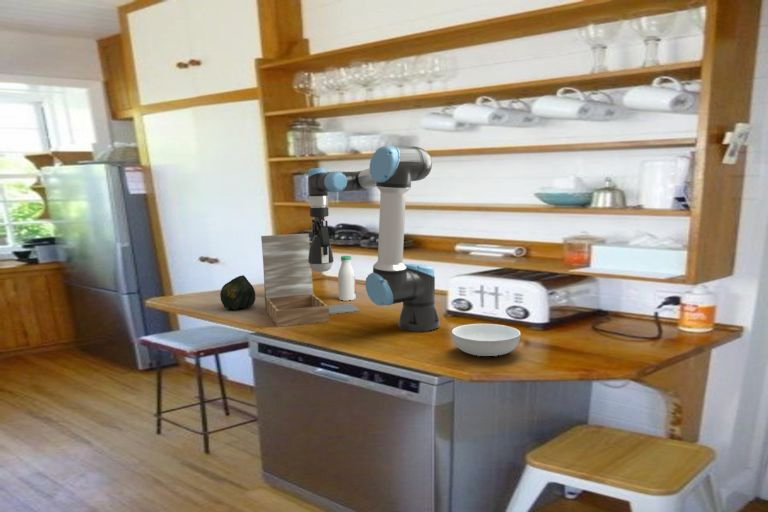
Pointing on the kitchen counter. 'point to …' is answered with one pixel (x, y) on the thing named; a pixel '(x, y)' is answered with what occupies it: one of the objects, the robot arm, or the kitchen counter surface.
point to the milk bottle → (346, 280)
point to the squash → (237, 293)
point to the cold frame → (290, 281)
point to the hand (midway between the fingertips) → (321, 261)
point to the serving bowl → (486, 339)
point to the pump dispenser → (319, 255)
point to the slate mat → (342, 308)
